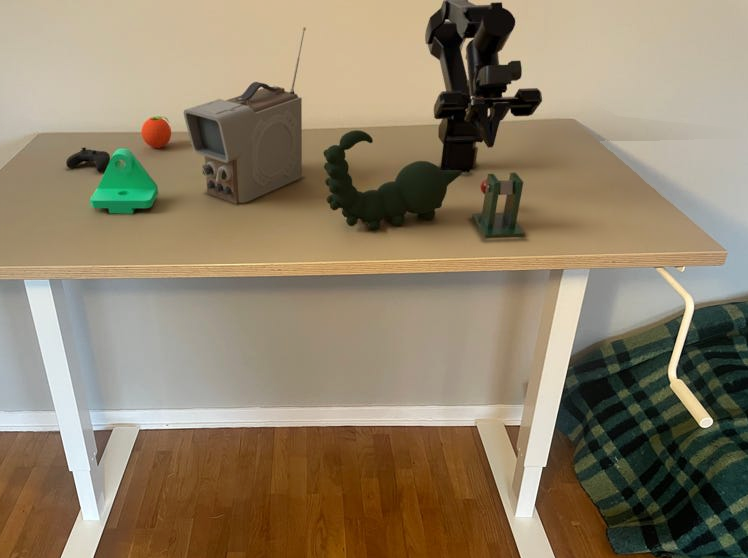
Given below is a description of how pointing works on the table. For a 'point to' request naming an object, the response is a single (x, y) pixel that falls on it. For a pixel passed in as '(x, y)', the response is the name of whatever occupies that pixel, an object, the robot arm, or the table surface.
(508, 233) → the bracket
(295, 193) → the table surface
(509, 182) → the lever
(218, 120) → the portable television
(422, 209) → the toy figurine
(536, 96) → the robot arm
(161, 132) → the clementine
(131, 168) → the camera mount
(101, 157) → the gaming controller
